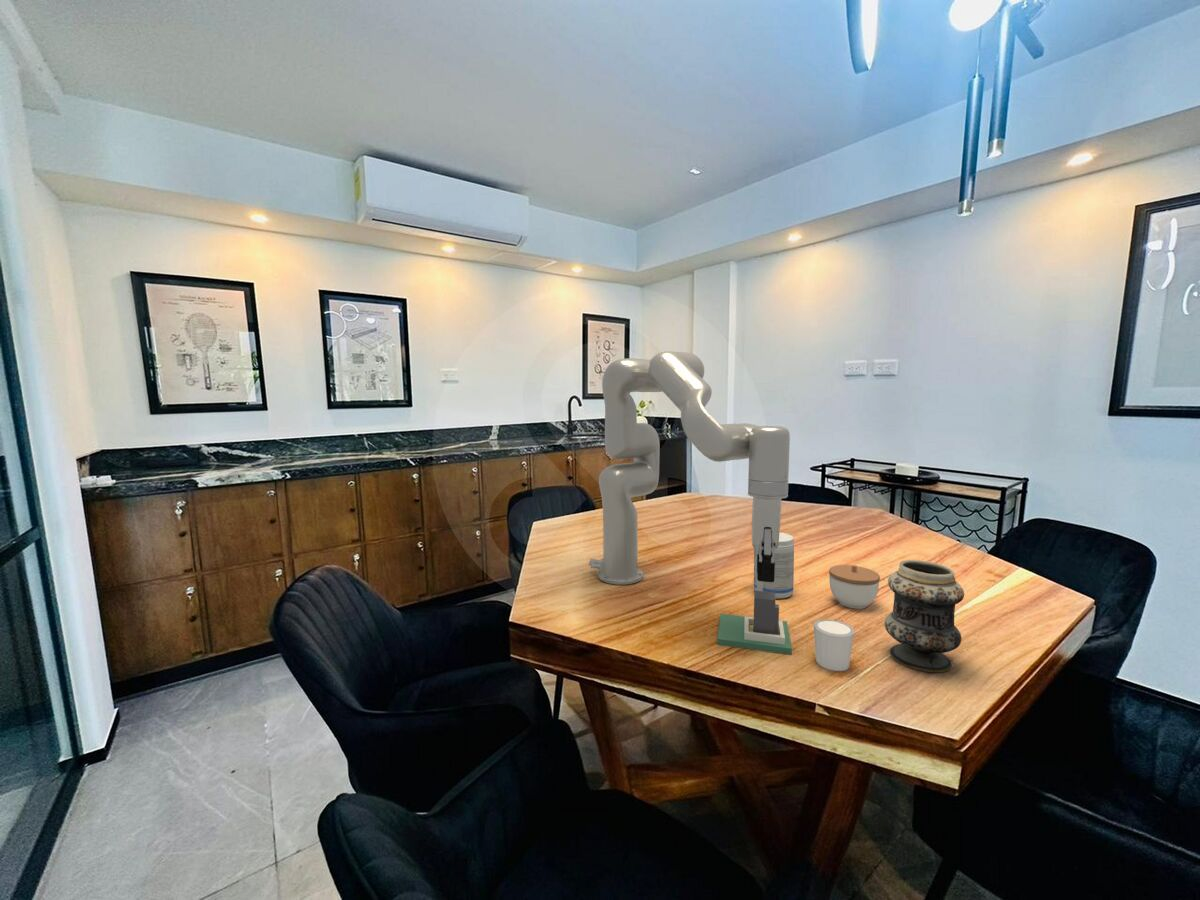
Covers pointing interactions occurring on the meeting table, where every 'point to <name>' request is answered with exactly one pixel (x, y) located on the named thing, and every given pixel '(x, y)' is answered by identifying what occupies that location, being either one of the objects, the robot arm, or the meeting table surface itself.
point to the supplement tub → (779, 569)
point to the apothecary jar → (924, 615)
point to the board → (752, 635)
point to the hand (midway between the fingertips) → (765, 576)
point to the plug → (765, 613)
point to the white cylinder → (833, 644)
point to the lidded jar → (854, 585)
